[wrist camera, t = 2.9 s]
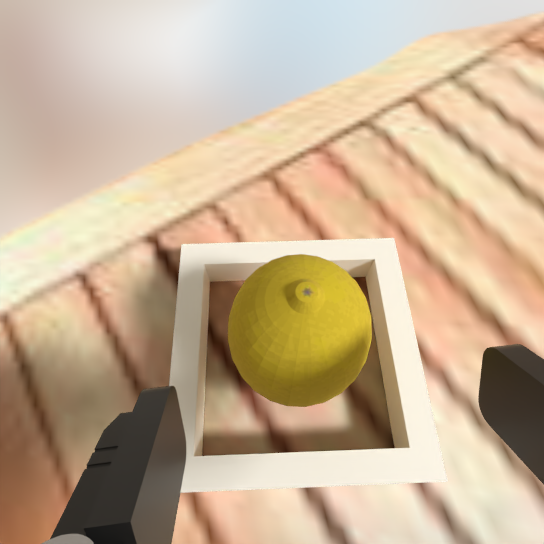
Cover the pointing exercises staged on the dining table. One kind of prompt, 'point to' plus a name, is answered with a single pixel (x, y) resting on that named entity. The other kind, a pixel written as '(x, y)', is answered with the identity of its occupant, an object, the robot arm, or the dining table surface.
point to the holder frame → (392, 354)
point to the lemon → (299, 330)
